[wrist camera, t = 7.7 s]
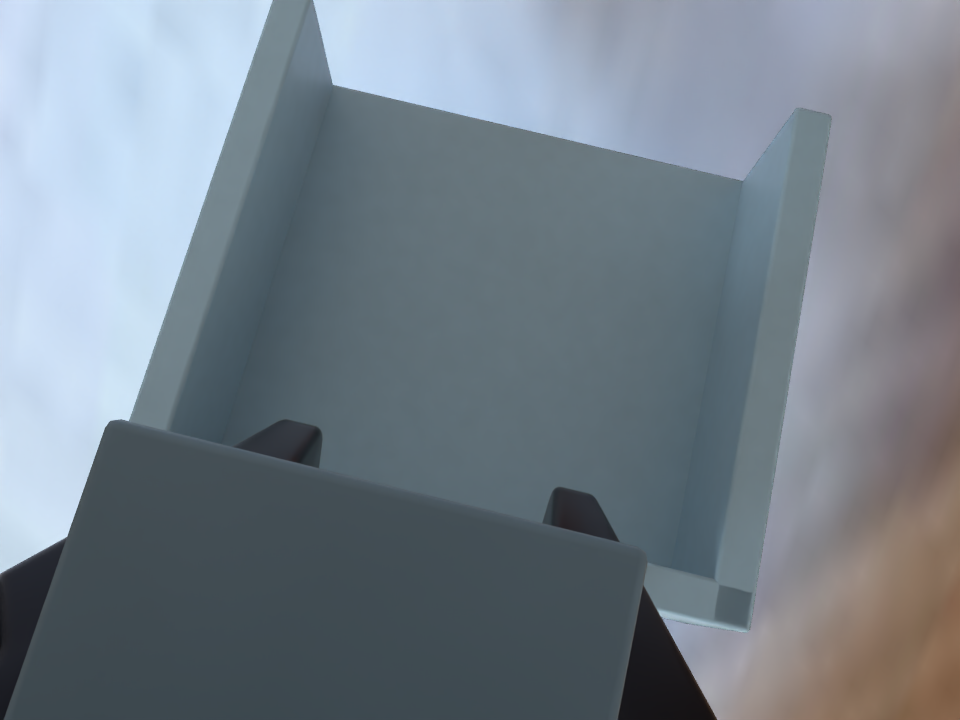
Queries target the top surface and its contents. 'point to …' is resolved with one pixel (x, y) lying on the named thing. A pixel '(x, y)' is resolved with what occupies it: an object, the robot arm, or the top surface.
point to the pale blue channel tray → (431, 419)
